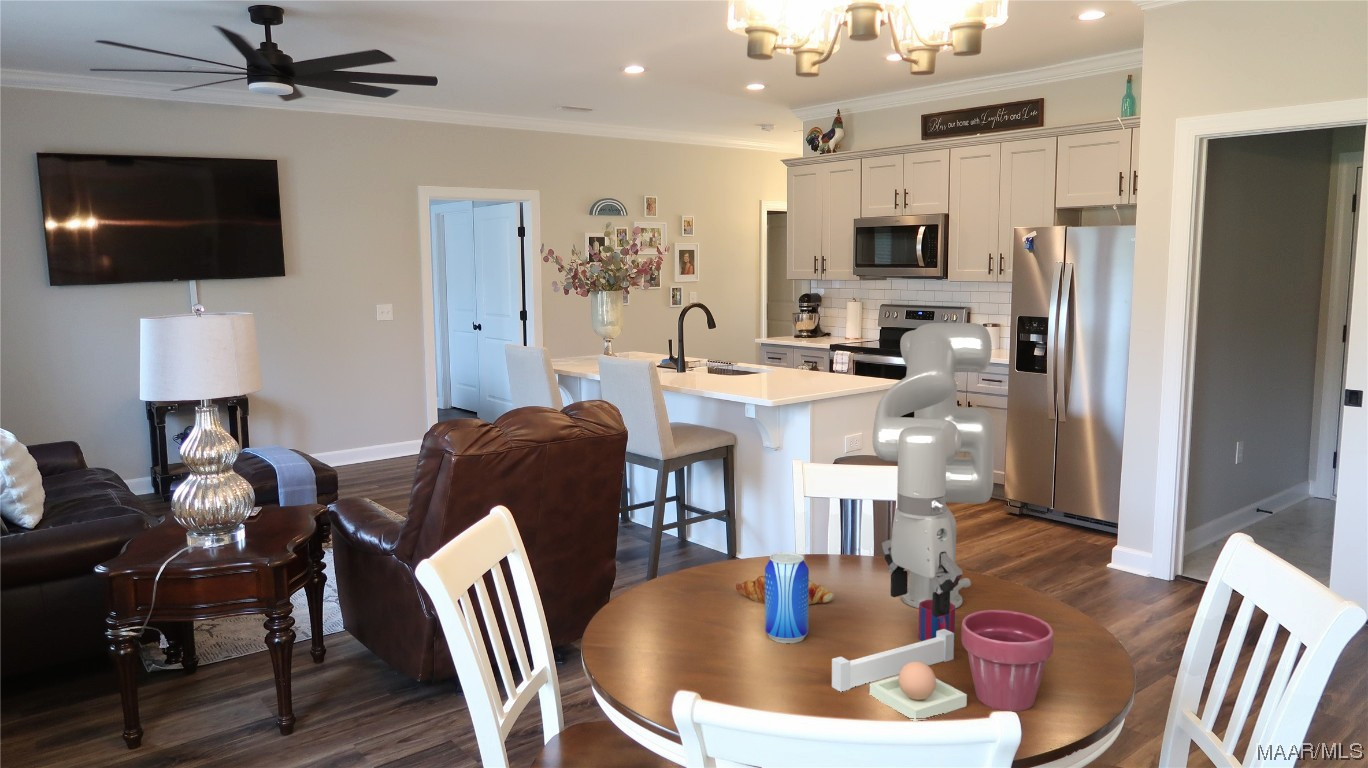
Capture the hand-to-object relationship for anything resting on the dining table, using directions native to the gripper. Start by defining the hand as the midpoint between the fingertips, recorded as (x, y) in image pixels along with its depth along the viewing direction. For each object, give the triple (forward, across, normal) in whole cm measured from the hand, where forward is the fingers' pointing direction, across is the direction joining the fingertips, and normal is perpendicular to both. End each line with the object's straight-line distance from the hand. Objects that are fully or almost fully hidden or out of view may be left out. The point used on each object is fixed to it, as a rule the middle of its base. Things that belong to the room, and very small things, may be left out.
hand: (919, 604), depth 150 cm
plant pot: (+17, -8, -12) cm, 22 cm away
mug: (+17, +15, -19) cm, 30 cm away
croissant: (+18, +49, -7) cm, 52 cm away
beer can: (+17, +32, +4) cm, 37 cm away
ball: (+16, -1, +1) cm, 16 cm away
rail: (+16, +9, -3) cm, 19 cm away
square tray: (+16, -1, +1) cm, 16 cm away
